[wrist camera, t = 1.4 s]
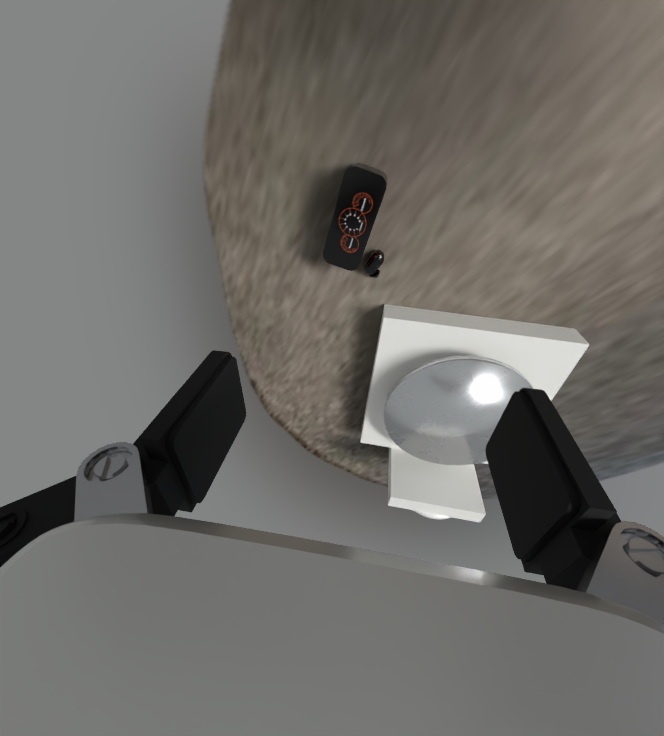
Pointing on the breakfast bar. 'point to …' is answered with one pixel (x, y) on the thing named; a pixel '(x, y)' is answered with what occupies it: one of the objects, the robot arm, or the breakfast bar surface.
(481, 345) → the kitchen scale
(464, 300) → the breakfast bar surface
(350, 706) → the robot arm
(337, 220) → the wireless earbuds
